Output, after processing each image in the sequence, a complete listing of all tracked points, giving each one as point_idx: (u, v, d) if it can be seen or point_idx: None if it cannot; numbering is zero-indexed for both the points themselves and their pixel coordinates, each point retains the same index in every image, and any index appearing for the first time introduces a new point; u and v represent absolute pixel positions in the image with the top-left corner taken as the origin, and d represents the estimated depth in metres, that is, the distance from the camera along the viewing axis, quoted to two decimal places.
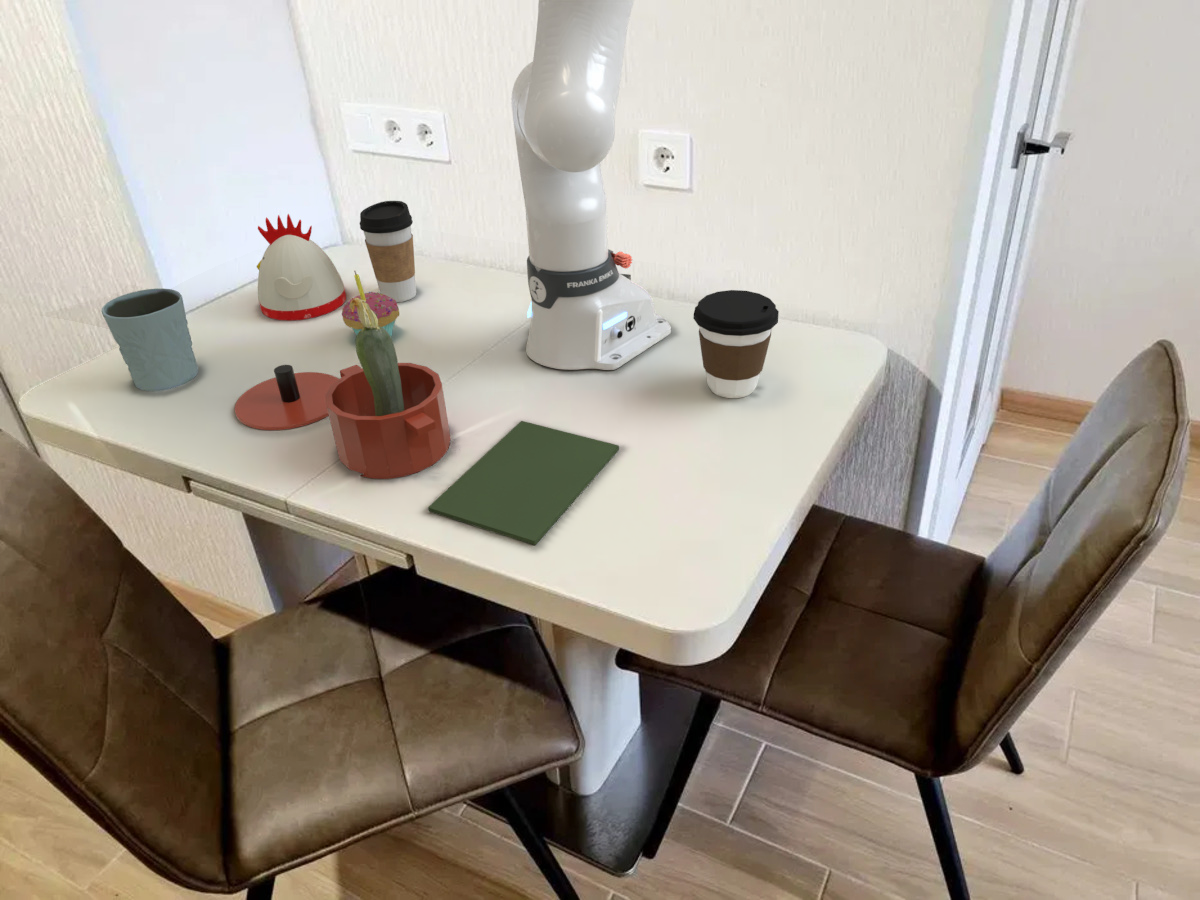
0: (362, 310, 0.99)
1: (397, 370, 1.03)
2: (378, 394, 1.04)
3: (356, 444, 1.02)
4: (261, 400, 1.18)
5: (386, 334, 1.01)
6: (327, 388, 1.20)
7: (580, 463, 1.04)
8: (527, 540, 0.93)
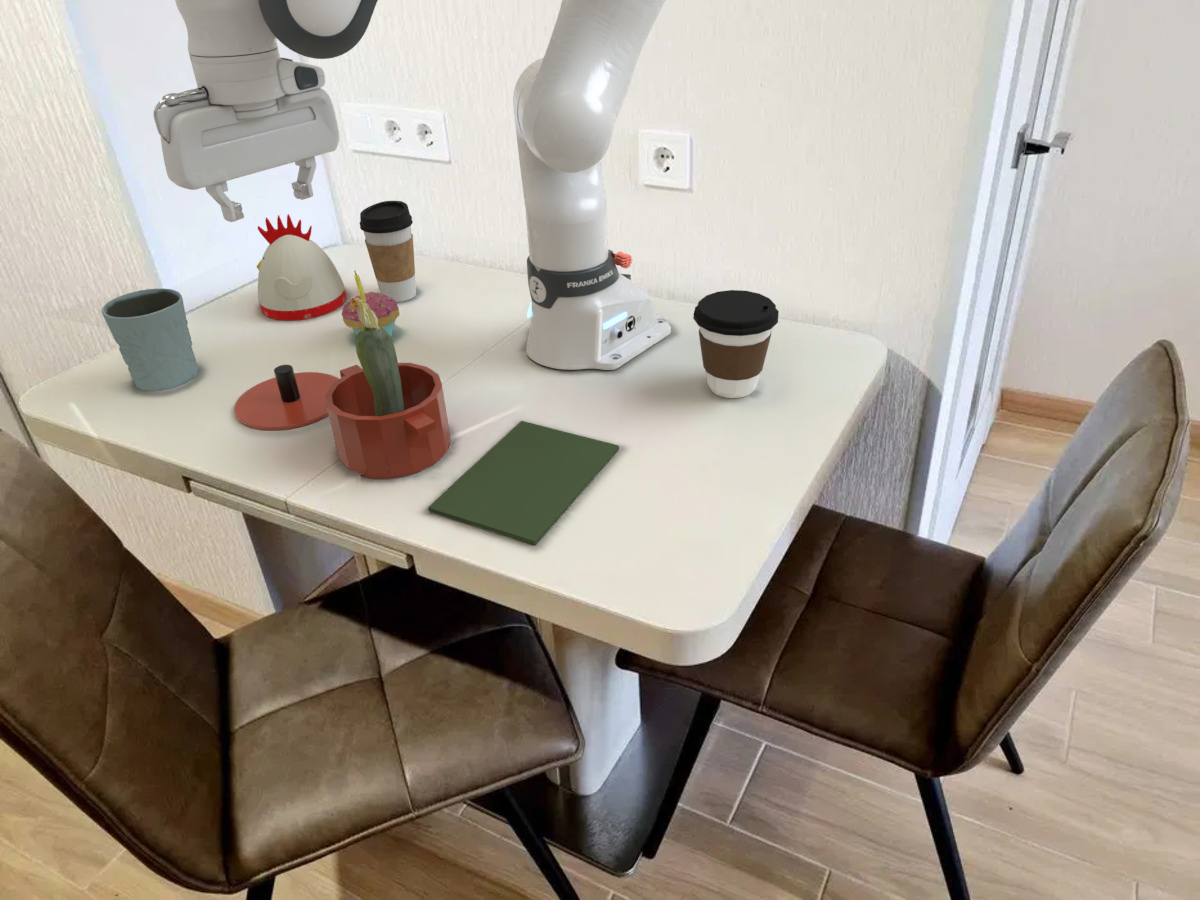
0: (362, 310, 0.99)
1: (397, 370, 1.03)
2: (378, 394, 1.04)
3: (356, 444, 1.02)
4: (261, 400, 1.18)
5: (386, 334, 1.01)
6: (327, 388, 1.20)
7: (580, 463, 1.04)
8: (527, 540, 0.93)
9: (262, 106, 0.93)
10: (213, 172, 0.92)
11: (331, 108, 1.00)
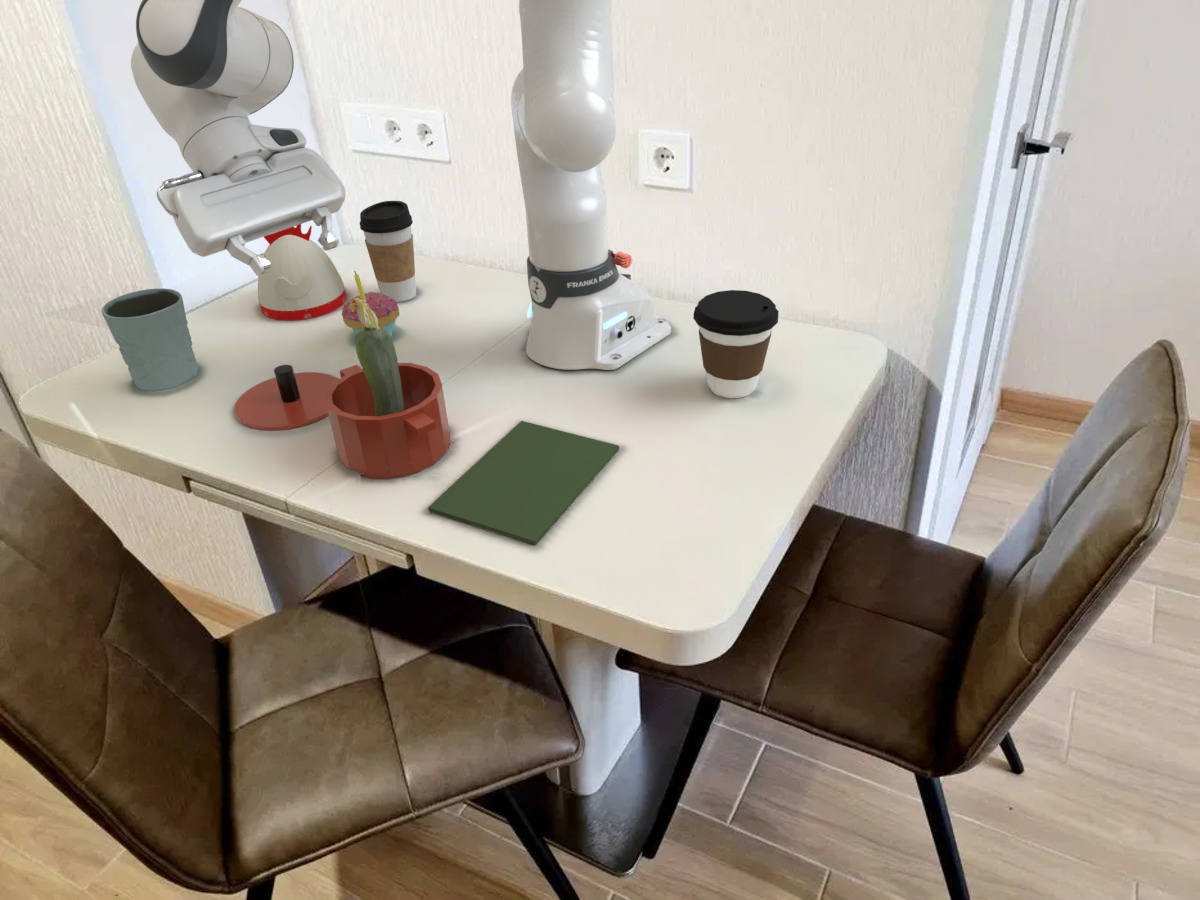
0: (362, 310, 0.99)
1: (397, 370, 1.03)
2: (378, 394, 1.04)
3: (356, 444, 1.02)
4: (261, 400, 1.18)
5: (386, 334, 1.01)
6: (327, 388, 1.20)
7: (580, 463, 1.04)
8: (527, 540, 0.93)
9: (248, 162, 1.01)
10: (222, 225, 0.98)
11: (323, 161, 1.07)
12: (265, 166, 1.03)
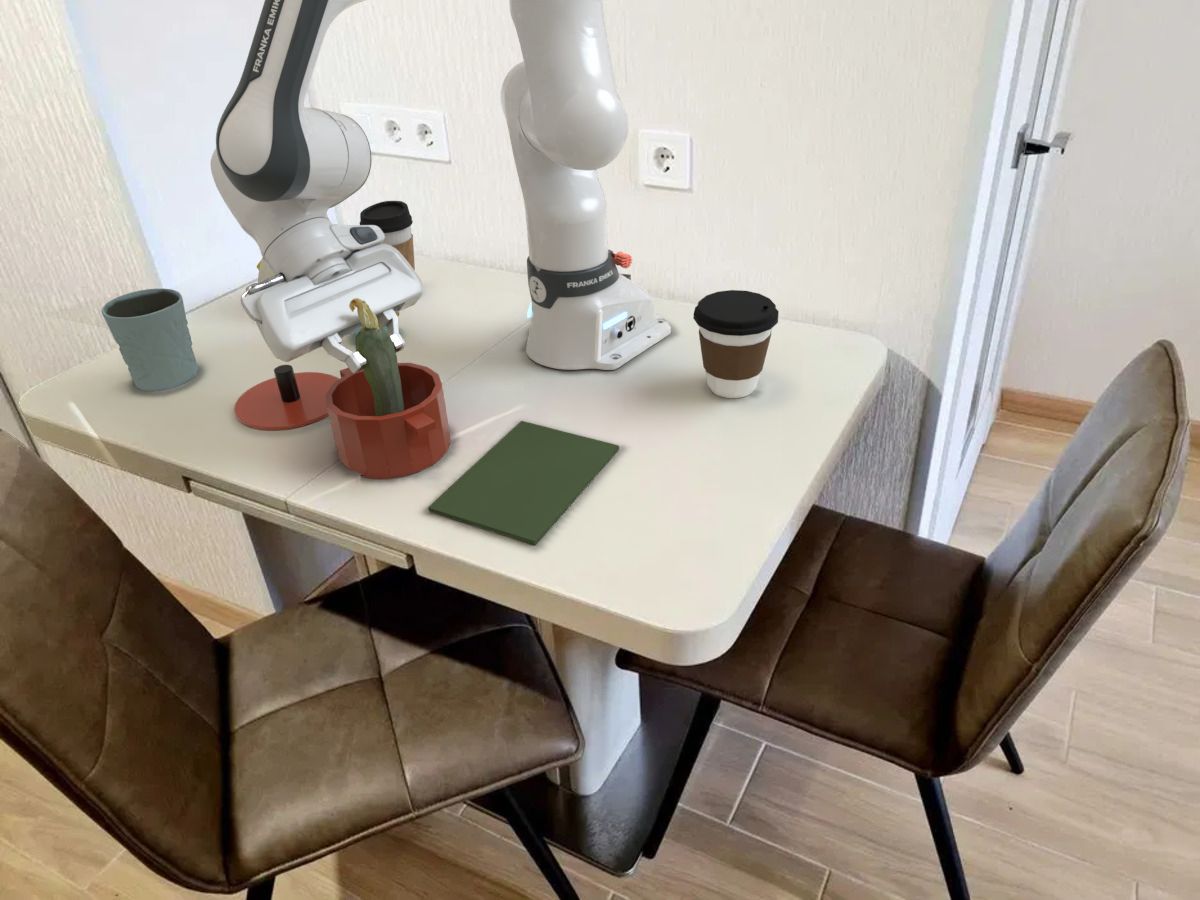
0: (362, 310, 0.99)
1: (397, 370, 1.03)
2: (378, 394, 1.04)
3: (356, 444, 1.02)
4: (261, 400, 1.18)
5: (386, 334, 1.01)
6: (327, 388, 1.20)
7: (580, 463, 1.04)
8: (527, 540, 0.93)
9: (330, 264, 0.99)
10: (306, 331, 0.96)
11: (401, 257, 1.06)
12: (346, 266, 1.01)
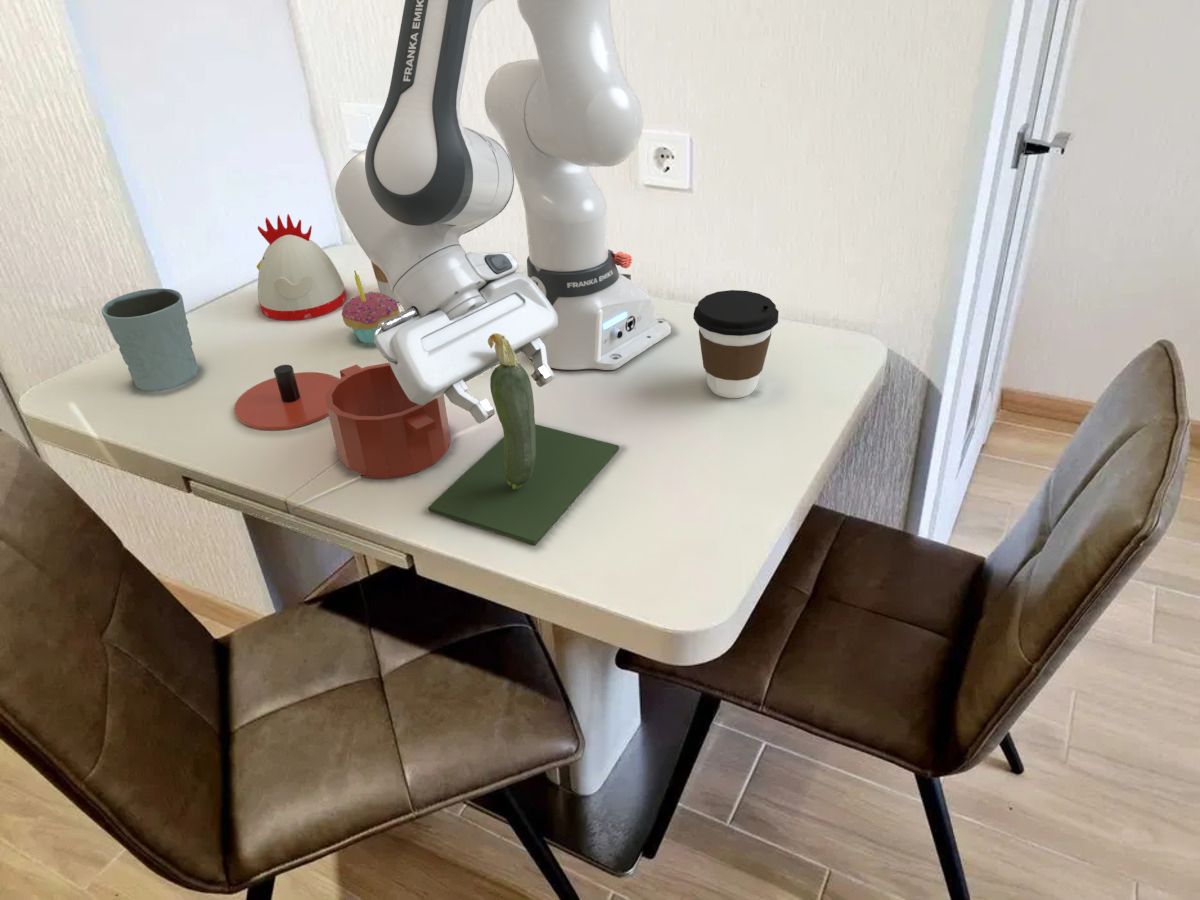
0: (501, 346, 0.89)
1: (533, 410, 0.94)
2: (511, 436, 0.94)
3: (356, 444, 1.02)
4: (261, 400, 1.18)
5: (525, 372, 0.91)
6: (327, 388, 1.20)
7: (580, 463, 1.04)
8: (527, 540, 0.93)
9: (467, 297, 0.90)
10: (445, 372, 0.87)
11: (535, 286, 0.97)
12: (482, 298, 0.92)
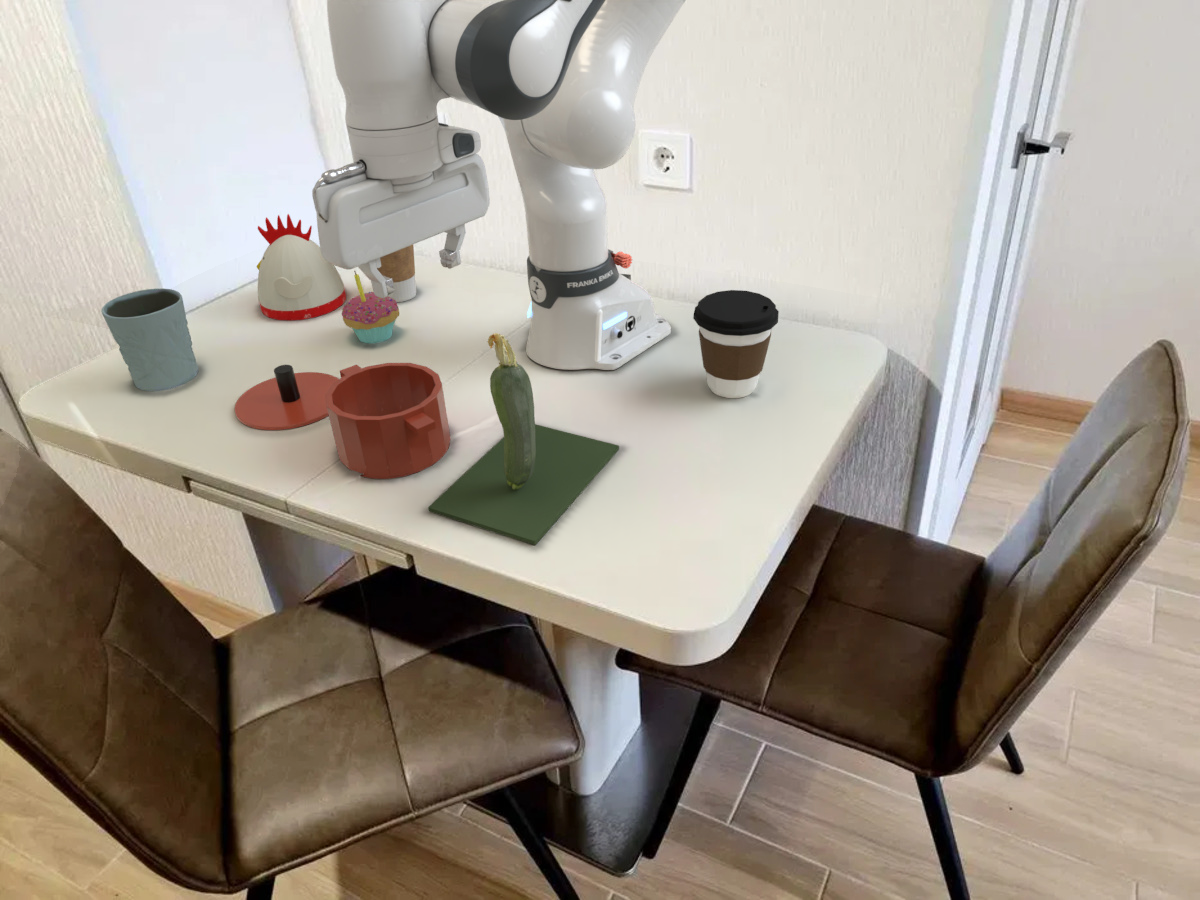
0: (501, 346, 0.89)
1: (533, 410, 0.94)
2: (511, 436, 0.94)
3: (356, 444, 1.02)
4: (261, 400, 1.18)
5: (524, 372, 0.91)
6: (327, 388, 1.20)
7: (580, 463, 1.04)
8: (527, 540, 0.93)
9: (420, 178, 0.86)
10: (369, 250, 0.86)
11: (484, 173, 0.94)
12: (432, 179, 0.88)
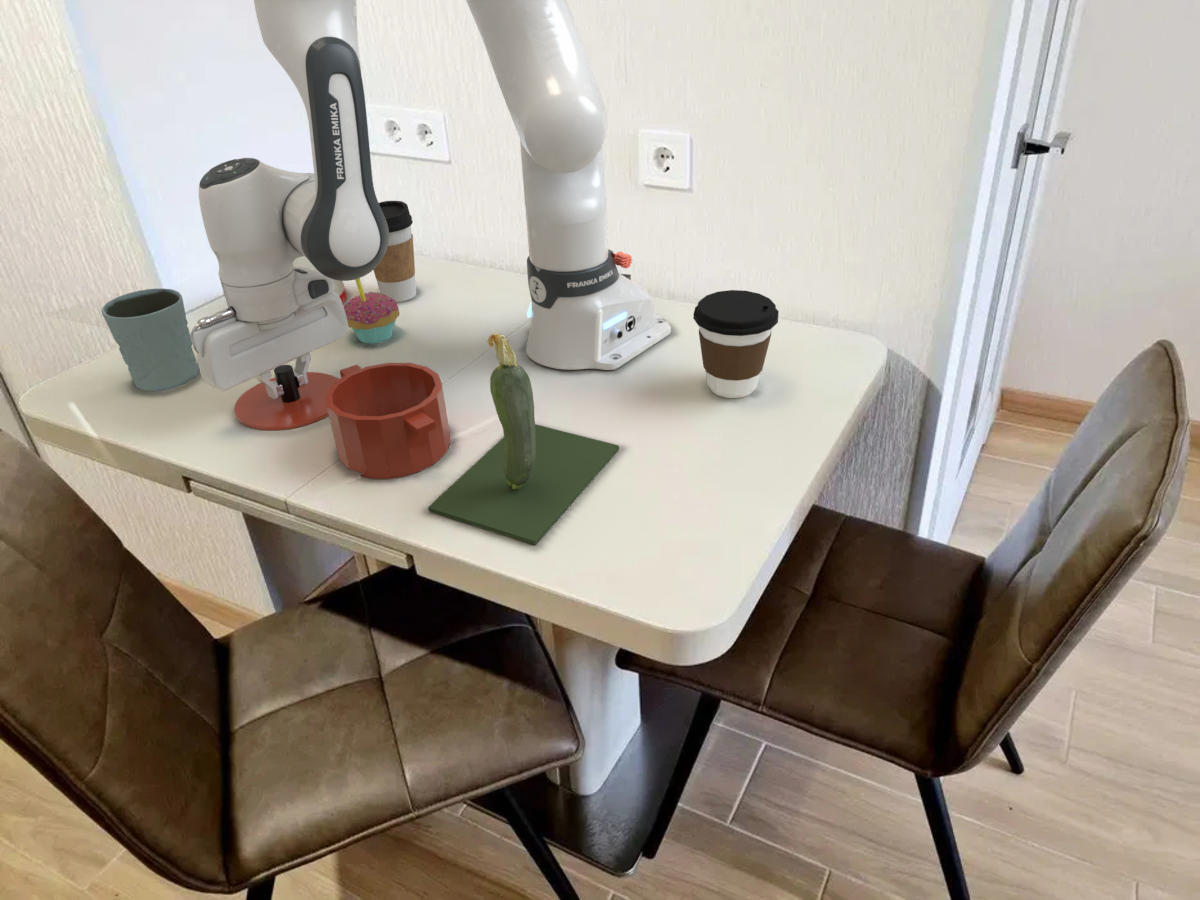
0: (501, 346, 0.89)
1: (533, 410, 0.94)
2: (511, 436, 0.94)
3: (356, 444, 1.02)
4: (261, 400, 1.18)
5: (524, 372, 0.91)
6: (327, 388, 1.20)
7: (580, 463, 1.04)
8: (527, 540, 0.93)
9: (280, 318, 1.10)
10: (239, 375, 1.09)
11: (340, 305, 1.17)
12: (292, 316, 1.12)
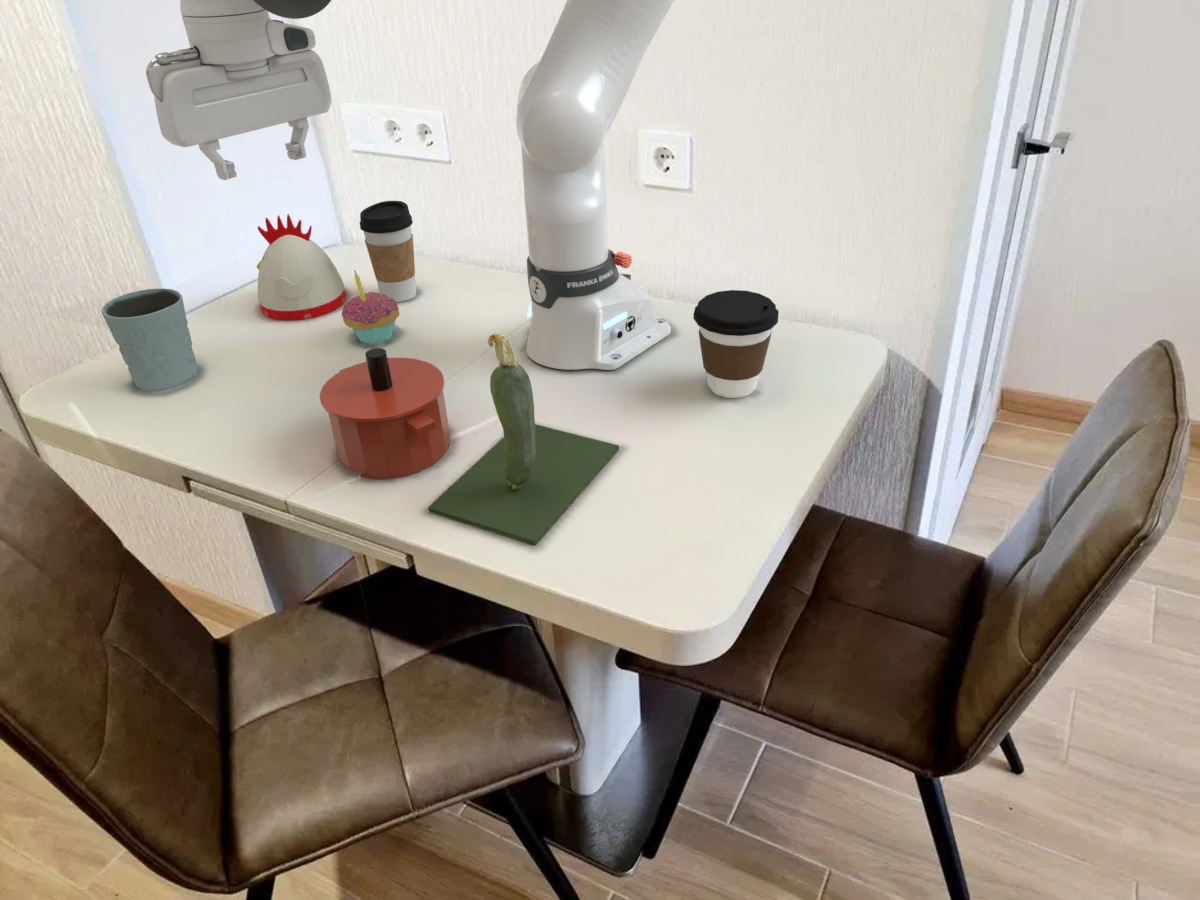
0: (501, 346, 0.89)
1: (533, 410, 0.94)
2: (511, 436, 0.94)
3: (356, 444, 1.02)
4: (349, 388, 1.04)
5: (524, 372, 0.91)
6: (421, 375, 1.06)
7: (580, 463, 1.04)
8: (527, 540, 0.93)
9: (252, 66, 0.96)
10: (205, 130, 0.95)
11: (322, 70, 1.03)
12: (266, 69, 0.98)
